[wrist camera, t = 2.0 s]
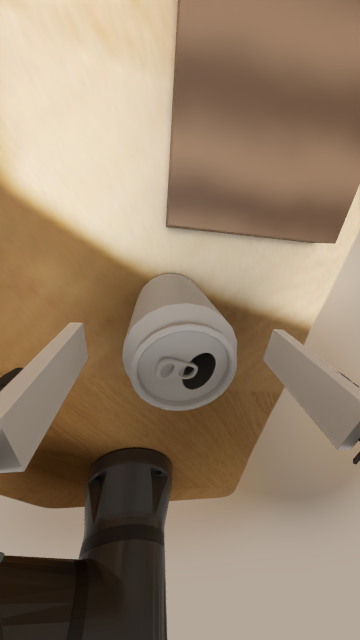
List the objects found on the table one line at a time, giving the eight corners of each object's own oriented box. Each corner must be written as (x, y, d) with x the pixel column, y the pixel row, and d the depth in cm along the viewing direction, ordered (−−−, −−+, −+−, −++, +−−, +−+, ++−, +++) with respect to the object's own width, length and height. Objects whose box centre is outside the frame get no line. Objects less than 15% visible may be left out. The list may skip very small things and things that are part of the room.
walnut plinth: (310, 242, 20) (335, 243, 17) (166, 226, 17) (167, 224, 15) (394, 8, 13) (456, -51, 11) (181, -67, 11) (189, -167, 8)
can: (187, 339, 23) (214, 428, 12) (130, 322, 21) (101, 410, 10) (212, 285, 21) (274, 339, 10) (149, 260, 19) (140, 293, 8)
